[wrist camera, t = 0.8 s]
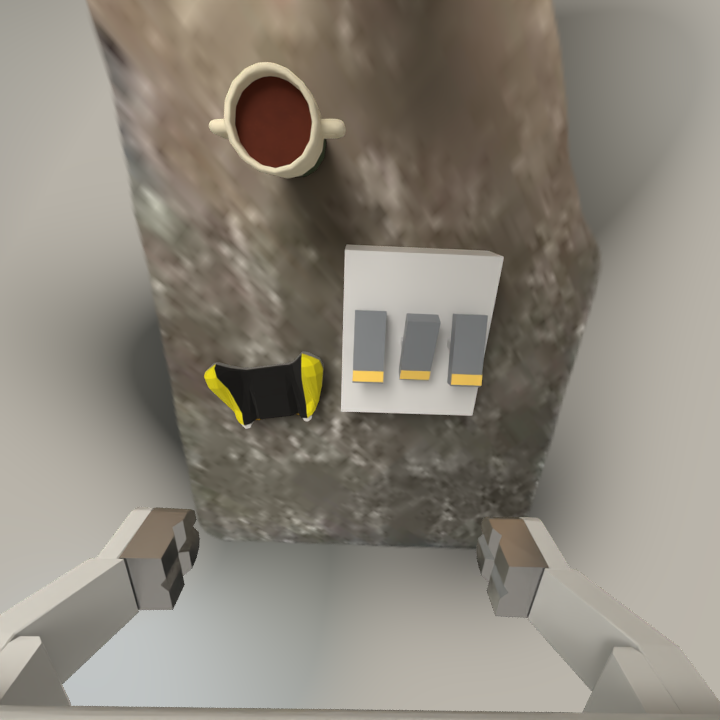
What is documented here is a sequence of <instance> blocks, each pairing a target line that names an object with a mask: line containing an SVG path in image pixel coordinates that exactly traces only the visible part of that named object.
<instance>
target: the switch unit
mask: <svg viewBox="0 0 720 720" xmlns="http://www.w3.org/2000/svg"><path fill="white" fill-rule="evenodd" d="M503 259H504V257H503V256H501V255H498V254H496V253H493V252H491V251H486V250H463V249H440V248H417V247H393V246H370V245H347V244H346V248H345V268H344V310H343V351H342V393H341V411H345V412H376V413H407V414H438V415H469V416H472V415H473V410H474V405H475V400H476V395H477V390H478V387H460V386H450V385H449V384H448V383H447V378H448V366H449V354H450V342H451V330H452V318H453V314H478V315H488V321H487V331H486V341H485V349H486V344H487V339H488V334H489V329H490V324H491V319H492V314H493V309H494V304H495V299H496V294H497V289H498V284H499V279H500V274H501V269H502V264H503ZM355 310H375V311H387V314H386V334H385V353H384V374H383V384H373V383H352V379H353V351H354V324H355ZM407 313H412V314H437V315H439V318H440V322H441V324H440V329H439V333H438V338H437V343H436V348H435V352H434V357H433V362H432V366H431V371H430V377H429V381H425V380H400V379H399V364H400V356H401V349H402V342H403V335H404V328H405V321H406V314H407ZM484 355H485V351H484Z"/></svg>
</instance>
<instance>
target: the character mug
mask: <svg viewBox="0 0 720 720" xmlns="http://www.w3.org/2000/svg"><path fill="white" fill-rule="evenodd" d="M209 128H210V130H211V132H212V133H214V134H216V135H218V136H220V137H222V138H225V139H229V141H230V143H231V145H232V146H233V147H234V149H235V150H236V152H237V153H238V154H239V156H240V157H241V159H242V160H243V161H245V162H246V163H248V164H249V165H251V166H252V167H253V168H255V169H256V170H258V171H259V172H263V173H266V174H270V175H274V176H278V177H283V178H292V177H305V176H307V175H309V174H311V173H312V172H314V171H316V170H317V168H318V167H319V165H320V164H321V162H322V161H323V159H324V154H325V148H326V141H325V139H338V138H341V137H343V136H344V135H345V133H346V128H345V125H344V122H343V121H341V120H339V119H321V114H320V111H319V109H318V106H317V104H316V101H315V99H314V97H313V95H312V93H311V92H310V91H309V90H308V89H307V87H306V85H305V84H304V82H303V81H302V80H300V79H299V78H298V77H297V76H296V75H295V74H293V73H292V72H291V71H290V70H289V69H288V68H285V67H283V66H281V65H278V64H276V63H270V62H262V63H256V64H254V65H252V66H249V67H247V68H245V69H244V70H243V71H242V72H241V73H240V74H239V75H238V76H237V77H236V78H235V79H234V80H233V81H232V84H231V86H230V89H229V91H228V94H227V96H226V99H225V106H224V119H215V120H212V121H210V124H209Z"/></svg>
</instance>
